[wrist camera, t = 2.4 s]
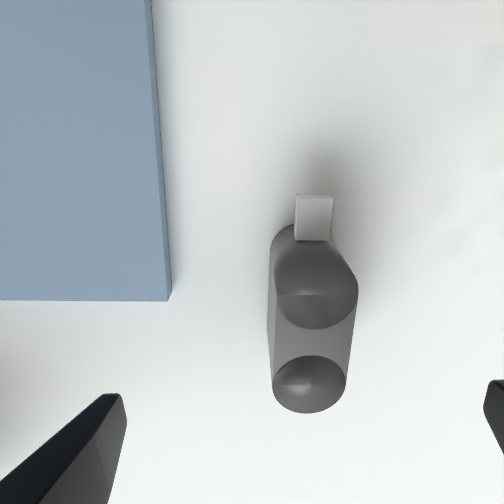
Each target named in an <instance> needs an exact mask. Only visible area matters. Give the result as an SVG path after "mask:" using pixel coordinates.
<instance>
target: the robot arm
mask: <svg viewBox="0 0 504 504" xmlns="http://www.w3.org/2000/svg"><path fill="white" fill-rule="evenodd" d="M483 410H484V414H485V417H486V419H487V421H488V423H489V425H490V427H491V429H492V431H493V434H494V436H495V438H496V440H497V442H498V444H499V446H500V448H501V450H502V452H503V454H504V380H492V381H491V382H490V383H489V385H488V389H487V393H486V397H485V401H484V405H483ZM126 426H127V418H126V413H125V409H124V405H123V400H122V397H121V395H120V394H118V393H109V394H103V395H101V396H100V397H98V398H97V399H96V400H95V401H94V402H93V403H91V404H90V405H89V406H88V407H87V408H86V409H84V410H83V411H82V412H81V413H80V414H78V415H77V416H76V417H75V418H74V419H73V420H71V421H70V422H69V423H68V424H67V425H66V426H64V427H63V428H62V429H61V430H60V431H58V432H57V433H56V434H55V435H54V436H53V437H51V438H50V439H49V440H48V441H47V442H45V443H44V444H43V445H42V446H41V447H40V448H38V449H37V450H36V451H35V452H34V453H33V454H31V455H30V456H29V457H28V458H27V459H25V460H24V461H23V462H22V463H21V464H20V465H18V466H17V467H16V468H15V469H14V470H13V471H11V472H10V473H9V474H8V475H7V476H5V477H4V478H3V479H2V480H1V481H0V504H107V503H108V500H109V497H110V494H111V490H112V486H113V482H114V478H115V474H116V470H117V465H118V461H119V457H120V453H121V448H122V444H123V440H124V436H125V431H126Z"/></svg>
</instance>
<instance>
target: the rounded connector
mask: <svg viewBox="0 0 504 504" xmlns="http://www.w3.org/2000/svg"><path fill="white" fill-rule="evenodd" d="M333 200H334V199H333V198H332V197H331V196H330V195H296V209H295V224H292V225H290V226H287V227H286V228H284V229H283V230H281V231H280V232H279V233H278V234H277V236H276V237H275V238H274V240H273V242H272V245H271V248H270V265H269V292H268V319H267V333H268V344H269V355H270V366H271V377H272V388H273V393H274V396H275V398H276V399H277V401H278V402H279V403H280V404H281V405H282V406H284V407H285V408H287V409H289V410H291V411H294V412H297V413H316V412H320V411H323V410H325V409H327V408H329V407H331V406H332V405H334V404H335V403H336V402H337V401H338V400H339V399H340V397H341V396H342V394H343V392H344V390H345V386H346V379H347V371H348V364H349V357H350V350H351V343H352V336H353V328H354V321H355V314H356V307H357V300H358V284H357V280H356V278H355V276H354V274H353V273H352V271H351V269H350V268H349V266H348V265H347V263H346V262H345V260H344V258H343V257H342V255H341V254H340V252H339V251H338V249H337V248H336V246H335V244H334V243H333V241H332V240H331V238H330V230H331V220H332V210H333Z"/></svg>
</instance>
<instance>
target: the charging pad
mask: <svg viewBox="0 0 504 504" xmlns="http://www.w3.org/2000/svg"><path fill="white" fill-rule="evenodd" d="M171 292H172V288H171V274H170V260H169V246H168V232H167V219H166V205H165V191H164V177H163V163H162V150H161V136H160V122H159V108H158V94H157V80H156V67H155V53H154V39H153V25H152V11H151V0H0V300H48V301H168V299H169V297H170V294H171Z"/></svg>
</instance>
